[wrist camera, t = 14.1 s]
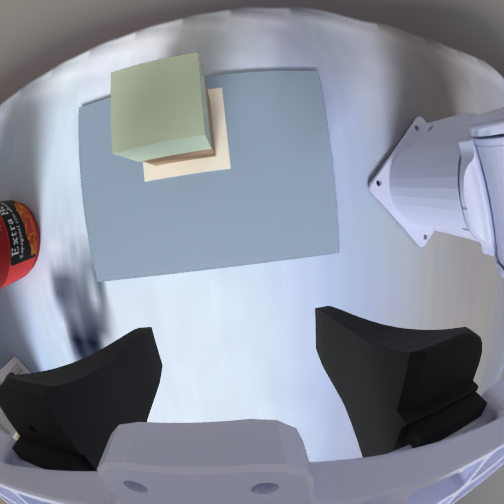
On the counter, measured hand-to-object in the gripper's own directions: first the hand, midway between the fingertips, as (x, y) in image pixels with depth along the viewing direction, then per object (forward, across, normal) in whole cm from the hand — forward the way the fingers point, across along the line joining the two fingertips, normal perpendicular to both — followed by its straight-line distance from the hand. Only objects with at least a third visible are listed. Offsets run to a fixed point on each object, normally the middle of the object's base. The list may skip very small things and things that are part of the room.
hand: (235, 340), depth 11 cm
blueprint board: (+10, +2, -8) cm, 13 cm away
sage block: (+6, +2, -11) cm, 13 cm away
